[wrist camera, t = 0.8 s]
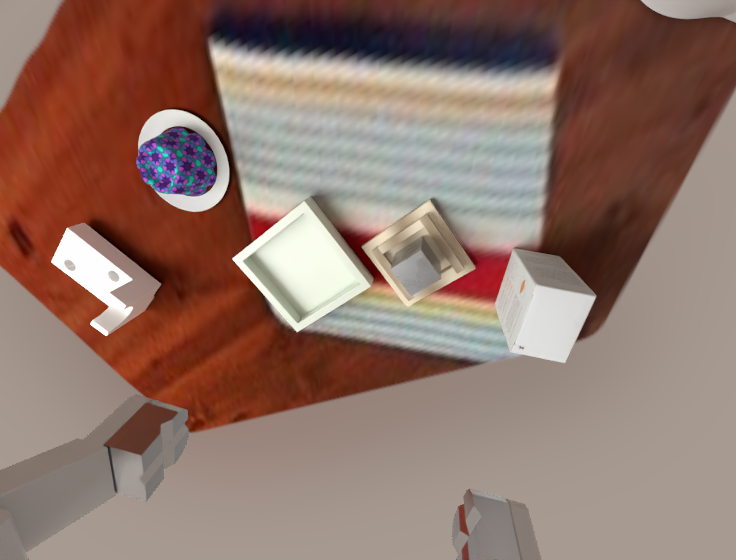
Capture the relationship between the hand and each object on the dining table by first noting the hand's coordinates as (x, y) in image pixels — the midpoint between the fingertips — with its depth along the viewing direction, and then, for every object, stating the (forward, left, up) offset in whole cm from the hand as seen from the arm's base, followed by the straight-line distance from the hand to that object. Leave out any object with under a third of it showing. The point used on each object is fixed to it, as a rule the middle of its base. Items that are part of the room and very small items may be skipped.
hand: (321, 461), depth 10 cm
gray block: (+3, +6, -34) cm, 35 cm away
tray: (+16, 0, -35) cm, 38 cm away
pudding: (+20, -20, -36) cm, 45 cm away
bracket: (+41, -16, -36) cm, 56 cm away
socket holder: (+3, +7, -35) cm, 36 cm away
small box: (-6, +17, -35) cm, 39 cm away
